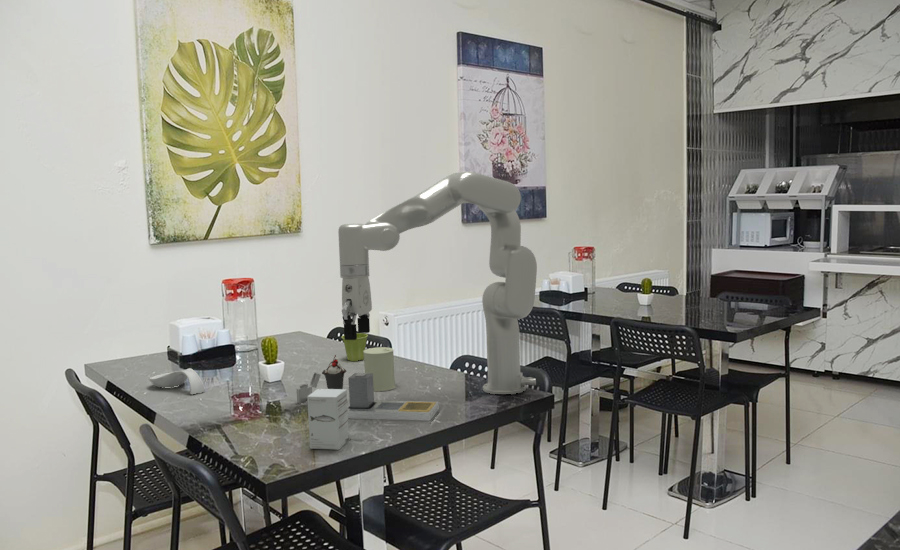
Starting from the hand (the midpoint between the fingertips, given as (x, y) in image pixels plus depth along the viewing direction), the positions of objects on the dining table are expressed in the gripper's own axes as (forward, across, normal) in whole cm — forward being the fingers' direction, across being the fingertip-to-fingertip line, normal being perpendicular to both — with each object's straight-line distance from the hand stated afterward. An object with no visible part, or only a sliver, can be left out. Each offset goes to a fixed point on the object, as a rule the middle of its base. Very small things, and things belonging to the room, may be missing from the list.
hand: (357, 336), depth 191 cm
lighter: (+22, +11, +20) cm, 31 cm away
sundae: (+21, +6, +10) cm, 24 cm away
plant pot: (+21, +64, +26) cm, 72 cm away
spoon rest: (+22, +20, +68) cm, 75 cm away
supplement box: (+22, -24, -1) cm, 32 cm away
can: (+21, +27, +4) cm, 35 cm away
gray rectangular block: (+20, -2, -1) cm, 20 cm away
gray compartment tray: (+21, -1, -9) cm, 23 cm away
